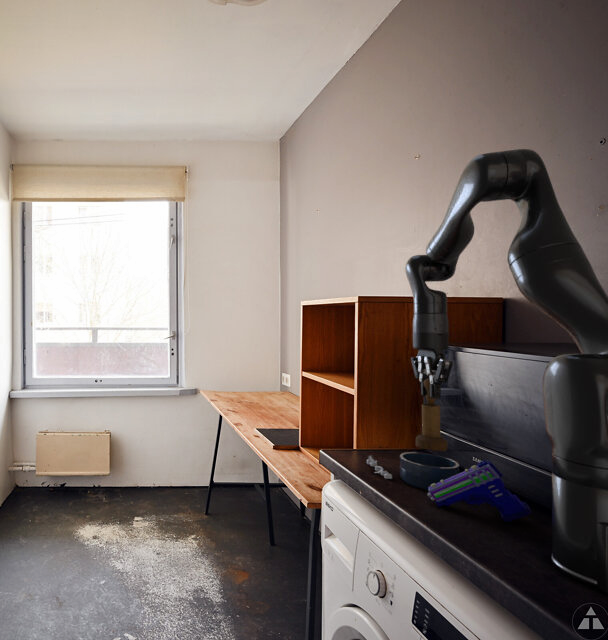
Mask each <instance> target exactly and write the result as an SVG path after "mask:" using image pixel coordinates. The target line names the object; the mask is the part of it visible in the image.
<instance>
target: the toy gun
mask: <svg viewBox="0 0 608 640" xmlns="http://www.w3.org/2000/svg"><path fill="white" fill-rule="evenodd" d="M502 477H504V476H503V473H502V472H501V471H500V470H499V469H498V468H497V466H495V464H494V463H493V462H492V461H491V460H488V459H484V460H482V461H479V462H477V463H476V464H474V465H472V466H470V468H469V469H468V468H465V469H464V470H463V471H461V472H459V474H457V475H454V476H452V477H450V478H448V479H445V480H440V482H439V483H436V484H435V483H433V484H431V486H430V487H428V490H427V491H428V492H427V496H428V497H429V498H430V501H435V504H436V506H437V507H438V508H439V507H442V506H444V505H445V507H448V506H451V505H453V504H456V503H458V502H465V503H466V504H467V505H470V506H474V505H477V506H480V505H483V504H489V505H490V506H491V507H492V508H494V507H495V508H496V510H497V511H498V512H499V514H500V517H501V519H502V520H503V521H504V523H510V522H512V521H515V520H518V519H521V518H523V517H527V516H529V515H530V514H532V510H531V508H530V505H528V503H527V502H526V501H521V499H520V498H519V497H518V496H517V495H516V494H512V493H511V492H510V490H508V489H506V486H505V483H504V481H503V479H502Z"/></svg>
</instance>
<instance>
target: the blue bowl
mask: <svg viewBox="0 0 608 640" xmlns="http://www.w3.org/2000/svg"><path fill="white" fill-rule="evenodd" d="M459 473H460V463H458V462H457V461H456V460H454V459H452V458H448V457H446V456H442V455H437V454H432V453H427V452H417V451H411V452H410V451H408V452H402V453H401V454H400V455H399V476H400V478H401V479H402V481H403V482H405V483H406V484H408V485H410V486H412V487H414V488H416V489H417V488H418V489H422V490H425V491H428V487H430V486H431V484H433V483H435V484H436V483H439V482H440V480H445V479H448V478H450V477H452V476H454V475H457V474H459Z"/></svg>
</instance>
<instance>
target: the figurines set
mask: <svg viewBox="0 0 608 640" xmlns="http://www.w3.org/2000/svg"><path fill="white" fill-rule="evenodd" d="M366 464H367V465H369V466H370V467H373V468H374V470H375V471H374V474H379V475H381V476H383V478H384V479H385V480H388V479H389V480H393V474H391V473H389V472H388V470H384V468H383V466H381V465H378V460H375V459H374V458H373V455H372V454H371V455H368V459H366Z"/></svg>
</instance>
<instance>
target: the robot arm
mask: <svg viewBox="0 0 608 640" xmlns="http://www.w3.org/2000/svg"><path fill="white" fill-rule="evenodd" d="M507 200H510V201H512V202H513V203H514V204H515V206H516V208H517V210H518V214H519V217H520V222H519V225H518V226H517V227H518V228H517V230H516V232H515V234H514V236H513V239H512V240H511V242H510V245H509V247H508V250H507V253H506V254H507V255H506V263H507V265H508V268H509V270H510V272H511V275H512V277H513V280H514V282H515V285H516V287H517V288H518V290H519V292H520V293H521V294H522V295H523V297H524V298H525V299H526V300H527V301H528V302H529V303H530V304H532V305H533V306H534V307H535V308H537V309H538V310H539V311H541V312H542V313H543V314H545V315H546V316H547V317H549V318H550V319H552V320H553V321H554V322H555V323H557V324H558V325H559V326H560V327H562V329H564V330H565V331H566V332H567V333H568V334H569V336H570V337H571V338H572V340H573V342H574V343H575V344H576V346H577V348H578V350H579V351H580V353H565V354H560V355H557V356H556V357H553V358H552V359H551V360H550V361H549V362H548V363H547V365H546V367H545V369H544V371H543V377H542V398H543V409H544V411H543V412H544V422H545V423H544V424H545V431H546V434H547V436H548V439H549V441H550V444H551V539H552V541H551V544H552V545H551V547H552V549H551V551H552V553H551V565H553V567H555V568H556V569H557V570H558V571H560V572H561V573H562V574H564V575H566V576H568V577H570V578H572V579H574V580H576V581H578V582H581V583H583V584H585V585H587V586H591V587H593V588H596V589H598V590H600V591H602V592H603V593H605V594H608V295H607V293H606V291H605V289H604V288H603V286H602V284H601V282H600V280H599V279H598V277H597V275H596V273H595V271H594V268H593V267H592V263H591V262H590V260H589V258H588V256H587V255H586V253H585V251H584V249H583V247H582V245H581V244H580V242H579V240H578V239H577V237H576V236H575V234H574V232H573V230H572V228H571V227H570V224H569V222H568V220H567V218H566V216H565V214H564V212H563V210H562V208H561V206H560V203H559V201H558V198H557V195H556V193H555V190H554V187H553V184H552V181H551V178H550V174H549V172H548V169H547V167H546V163H545V162H544V160H543V158H542V157H541V156H540V154H539V153H538V152H536V151H535V150H534V149H529V148H518V149H517V148H516V149H509V150H503V151H502V150H501V151H493V152H486V153H482V154H481V153H480V154H478V155H476V156H474V157H473V158H471V159H470V160H469V161H468V162H467V164H466V165H465V167H464V168H463V171H462V172H461V174H460V176H459V179H458V180H457V182H456V186H455V189H454V191H453V194H452V196H451V198H450V201H449V204H448V207H447V209H446V211H445V214H444V217H443V219H442V221H441V223H440V225H439V227H438V229H437V230H436V231H435V232H434V234H433V236H432V237H431V239H430V240H429V241H428V243H427V245H426V247H425V253H426V254H415V255H413V256H410V257H409V258H408V260H407V261H406V263H405V267H404V271H405V275H406V279H407V281H408V284H409V286H410V290H411V294H412V298H413V319H412V348H413V349H415V350H417V356H412V357H411V358H410V361H411V362H410V363H411V365H412V369H413V370H412V371H413V373H414V377H415V378H416V379H418V380H419V382H420V394H421V397H426V396H425V395H427V393H428V392H427V390H426V388H425V386H424V380H425V379H427V378H430V383H431V384H430V398H432V399H436V400H440V399H442V385H443V384H446V383H448V382H449V378H450V375H451V371H452V369H453V365H454V363H453V361H452V360H447V359H446V358H445V357H446V356H445V354H444V351H445V350H448V349H449V348H450V343H449V342H450V341H449V340H450V339H449V338H450V337H449V331H450V329H449V318H448V296H447V293H446V292H444V291H442V290H437V289H433V288H430V287H429V286H428V285H427V283H428V282H429V283H430V282H431V283H432V282H445V281H447V280H449V279H452V277H454V275H455V273H456V268H457V264H458V261H459V258H460V256H461V254H462V253H463V252H464V251H465V249H466V248H467V247H468V246H469V245H470V243H471V242H472V240H473V237H474V235H475V224H474V220H473V218H472V215H471V212H472V210H473V209H474V208H476V206H477V205H478V204H480V203H487V202H496V201H497V202H498V201H507Z"/></svg>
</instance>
